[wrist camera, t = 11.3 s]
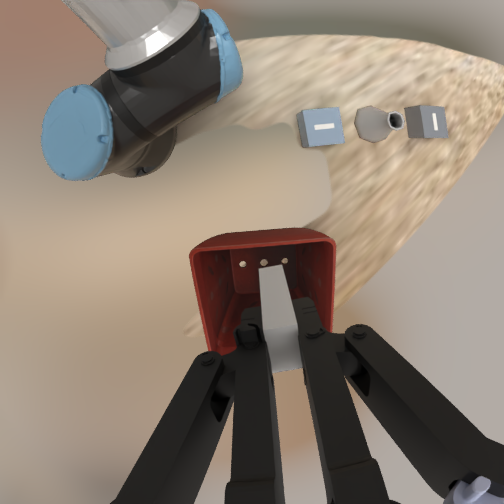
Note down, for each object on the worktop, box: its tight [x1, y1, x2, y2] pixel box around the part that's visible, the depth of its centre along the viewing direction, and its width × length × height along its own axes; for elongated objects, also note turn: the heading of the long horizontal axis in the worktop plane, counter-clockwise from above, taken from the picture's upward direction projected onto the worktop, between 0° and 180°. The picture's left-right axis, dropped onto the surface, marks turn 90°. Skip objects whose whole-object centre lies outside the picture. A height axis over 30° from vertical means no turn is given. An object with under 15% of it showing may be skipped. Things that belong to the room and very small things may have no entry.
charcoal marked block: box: [404, 105, 448, 138], centre depth 42 cm, size 6×6×6 cm
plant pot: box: [189, 228, 336, 356], centre depth 47 cm, size 19×19×17 cm
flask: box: [355, 106, 405, 143], centre depth 41 cm, size 7×7×10 cm
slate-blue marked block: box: [297, 107, 345, 147], centre depth 44 cm, size 6×6×6 cm
